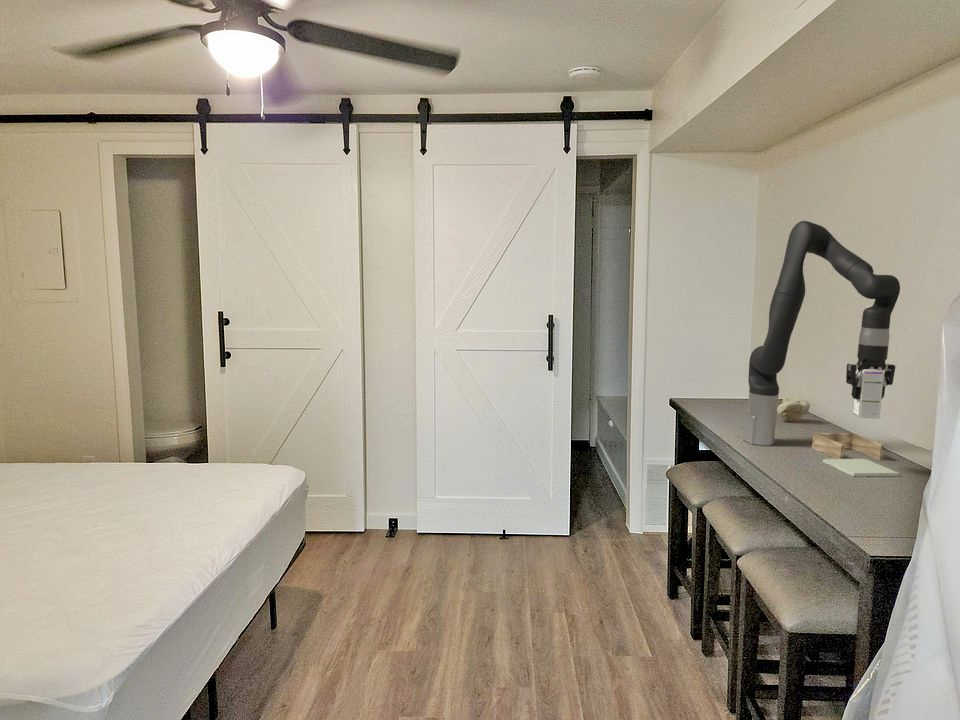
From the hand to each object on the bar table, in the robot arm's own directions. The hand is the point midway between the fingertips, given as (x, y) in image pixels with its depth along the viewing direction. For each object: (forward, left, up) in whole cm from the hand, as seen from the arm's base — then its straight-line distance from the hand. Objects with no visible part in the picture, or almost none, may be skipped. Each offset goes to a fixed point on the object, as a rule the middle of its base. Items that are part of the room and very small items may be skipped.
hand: (867, 398), depth 189 cm
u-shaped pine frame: (+7, +16, -21) cm, 28 cm away
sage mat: (0, 0, -21) cm, 21 cm away
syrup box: (0, 0, -5) cm, 5 cm away
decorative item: (+15, +60, -22) cm, 65 cm away
